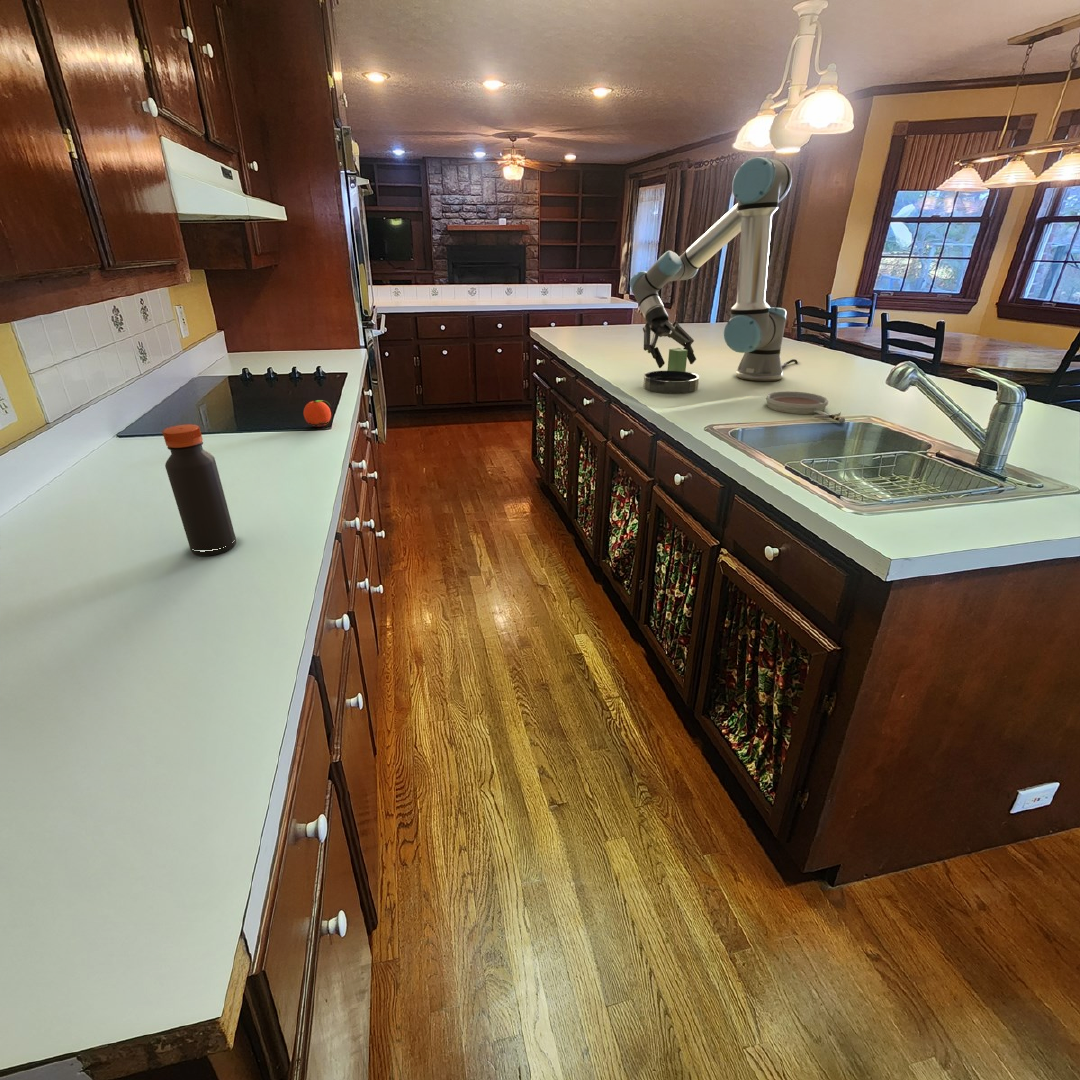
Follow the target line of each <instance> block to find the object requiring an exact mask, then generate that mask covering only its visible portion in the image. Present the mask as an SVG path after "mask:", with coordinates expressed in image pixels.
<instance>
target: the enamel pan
mask: <svg viewBox="0 0 1080 1080" xmlns="http://www.w3.org/2000/svg"><path fill="white" fill-rule="evenodd" d="M699 379H700V376H699V375H698V374H697V373H693V372H689V371H686V372H683V371H667V370H654V371H649V372H646V373H644V375H643V385H642V386H643V387H642V388H643V389H645V390H647V391H649V392H653V393H656V394H657V393H658V394H671V395H677V394H679V395H680V394H688V393H689V394H690V393H693V392H696V391H697V390H698V389H699V388H698V387H699Z"/></svg>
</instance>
